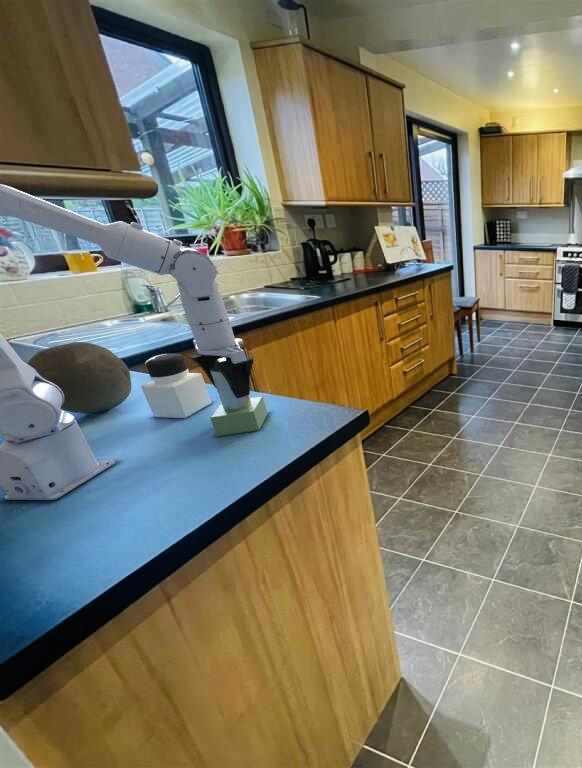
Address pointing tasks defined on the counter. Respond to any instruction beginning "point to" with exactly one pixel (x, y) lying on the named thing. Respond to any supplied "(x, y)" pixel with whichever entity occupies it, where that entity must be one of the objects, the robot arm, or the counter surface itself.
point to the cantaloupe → (84, 376)
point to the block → (240, 418)
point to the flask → (228, 391)
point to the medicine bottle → (174, 387)
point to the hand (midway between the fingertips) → (232, 391)
